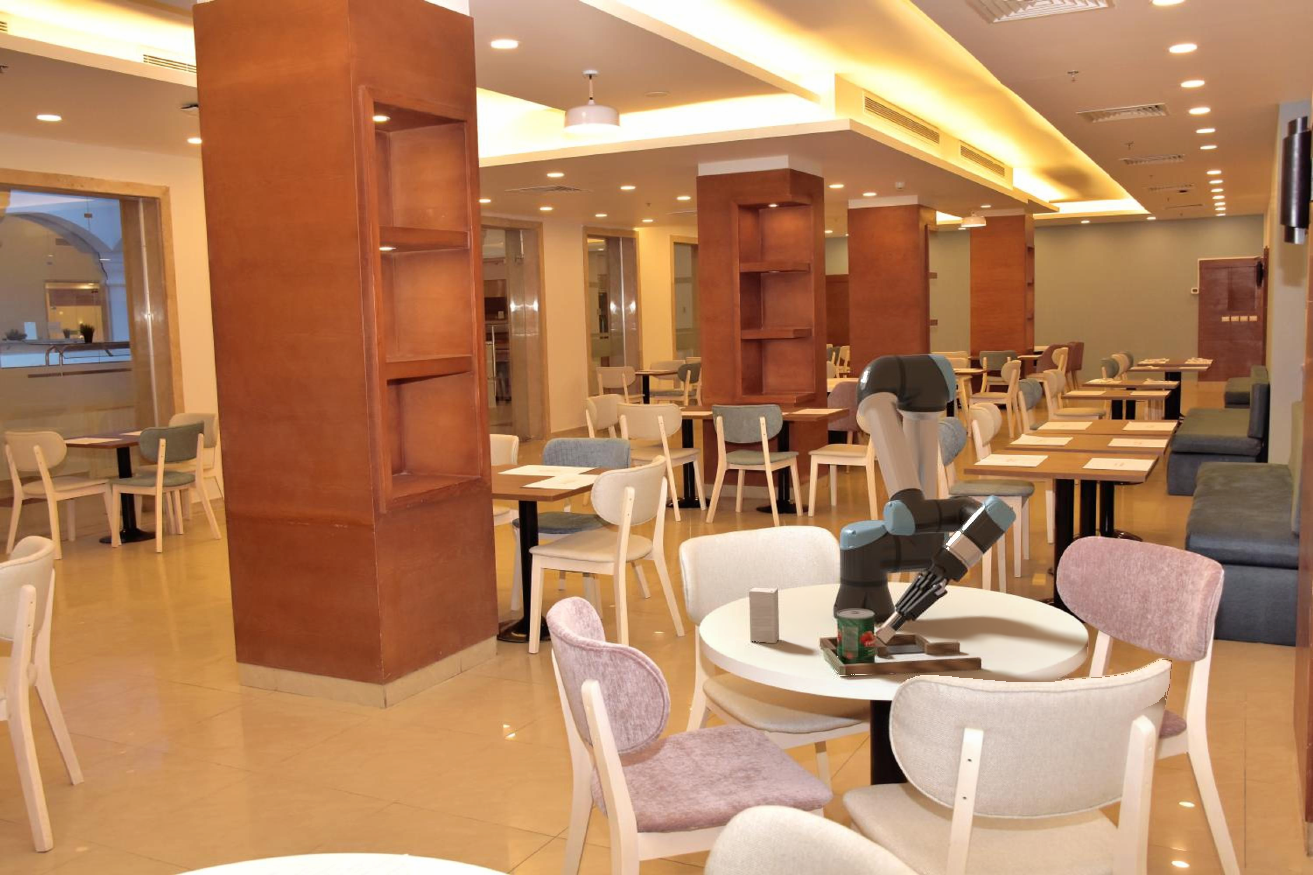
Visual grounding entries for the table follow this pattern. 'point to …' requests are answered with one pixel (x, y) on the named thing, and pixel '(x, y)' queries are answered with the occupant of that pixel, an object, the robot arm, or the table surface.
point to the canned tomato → (856, 636)
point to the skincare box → (764, 615)
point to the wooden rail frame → (899, 646)
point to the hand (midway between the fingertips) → (880, 638)
